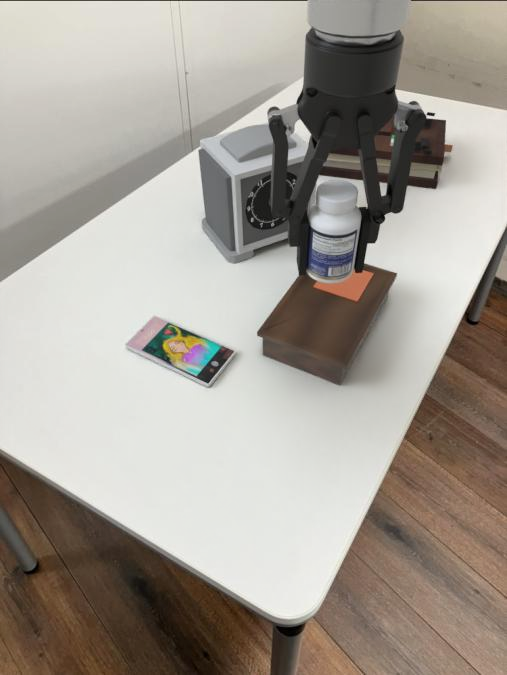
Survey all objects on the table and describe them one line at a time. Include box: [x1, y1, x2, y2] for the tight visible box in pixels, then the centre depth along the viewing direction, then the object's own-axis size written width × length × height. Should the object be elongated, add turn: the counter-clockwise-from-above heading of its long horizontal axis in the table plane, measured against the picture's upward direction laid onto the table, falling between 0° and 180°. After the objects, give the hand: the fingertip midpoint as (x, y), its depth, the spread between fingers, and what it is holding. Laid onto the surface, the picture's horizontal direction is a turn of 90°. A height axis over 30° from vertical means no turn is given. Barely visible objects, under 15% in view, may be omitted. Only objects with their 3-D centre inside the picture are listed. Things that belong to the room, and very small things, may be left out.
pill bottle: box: [306, 179, 362, 283], centre depth 52 cm, size 5×5×10 cm
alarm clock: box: [197, 122, 317, 264], centre depth 88 cm, size 18×13×18 cm
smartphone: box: [124, 315, 237, 388], centre depth 74 cm, size 7×1×15 cm
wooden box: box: [256, 262, 398, 386], centre depth 76 cm, size 13×21×5 cm, turn 151°
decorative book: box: [319, 111, 453, 190], centre depth 109 cm, size 19×8×30 cm
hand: (329, 265), depth 56 cm, fingers closed on pill bottle, 5 cm apart
